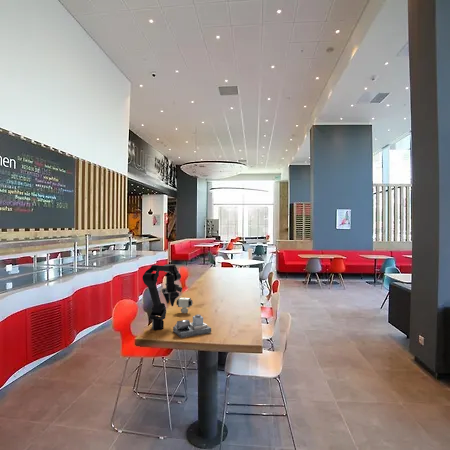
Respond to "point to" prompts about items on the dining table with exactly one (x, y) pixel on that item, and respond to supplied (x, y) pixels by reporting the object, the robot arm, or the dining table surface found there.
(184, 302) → the pneumatic valve
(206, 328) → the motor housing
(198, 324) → the drain pump
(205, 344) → the dining table surface
